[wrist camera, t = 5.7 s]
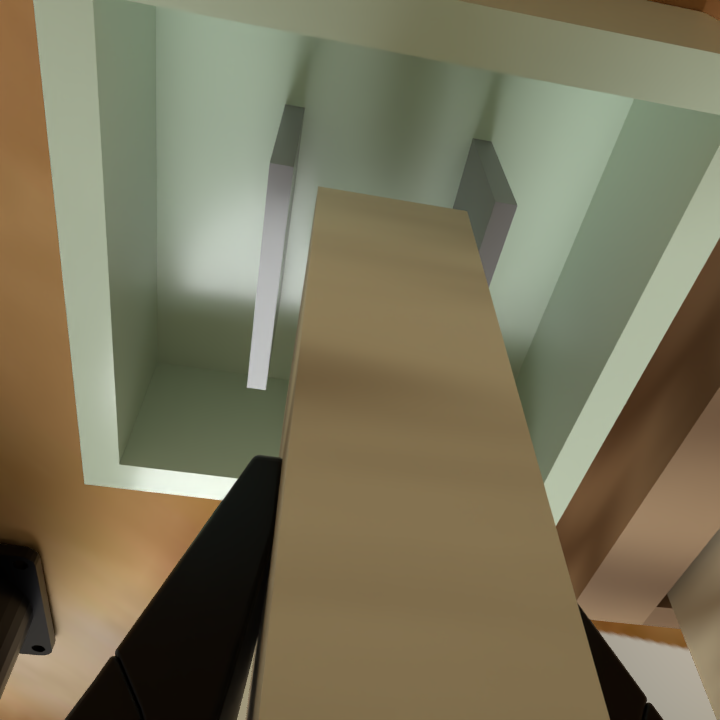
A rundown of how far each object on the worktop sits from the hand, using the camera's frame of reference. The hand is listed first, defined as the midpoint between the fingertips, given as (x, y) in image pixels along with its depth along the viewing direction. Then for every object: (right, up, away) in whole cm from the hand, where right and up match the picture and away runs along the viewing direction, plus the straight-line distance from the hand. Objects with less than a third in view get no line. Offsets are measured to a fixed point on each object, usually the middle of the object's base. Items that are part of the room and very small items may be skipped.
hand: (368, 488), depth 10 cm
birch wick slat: (0, +3, +3) cm, 4 cm away
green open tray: (0, +5, +6) cm, 8 cm away
